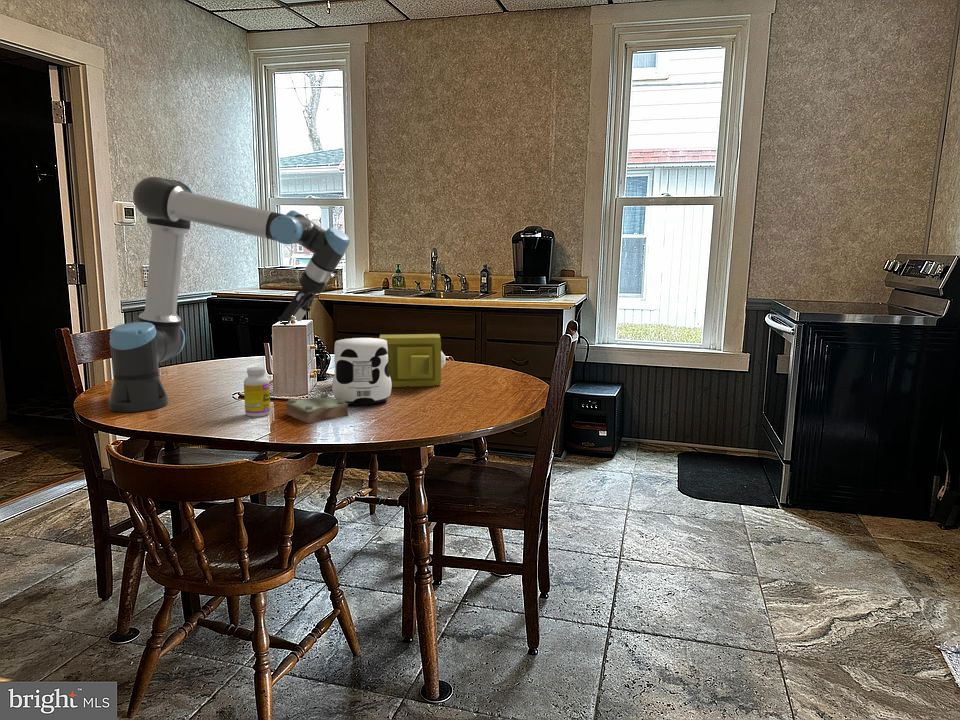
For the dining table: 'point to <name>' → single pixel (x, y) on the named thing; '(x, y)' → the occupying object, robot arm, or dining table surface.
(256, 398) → the supplement bottle
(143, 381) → the robot arm
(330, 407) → the base plate
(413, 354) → the olive green rectangular box
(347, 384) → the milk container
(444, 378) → the dining table surface
